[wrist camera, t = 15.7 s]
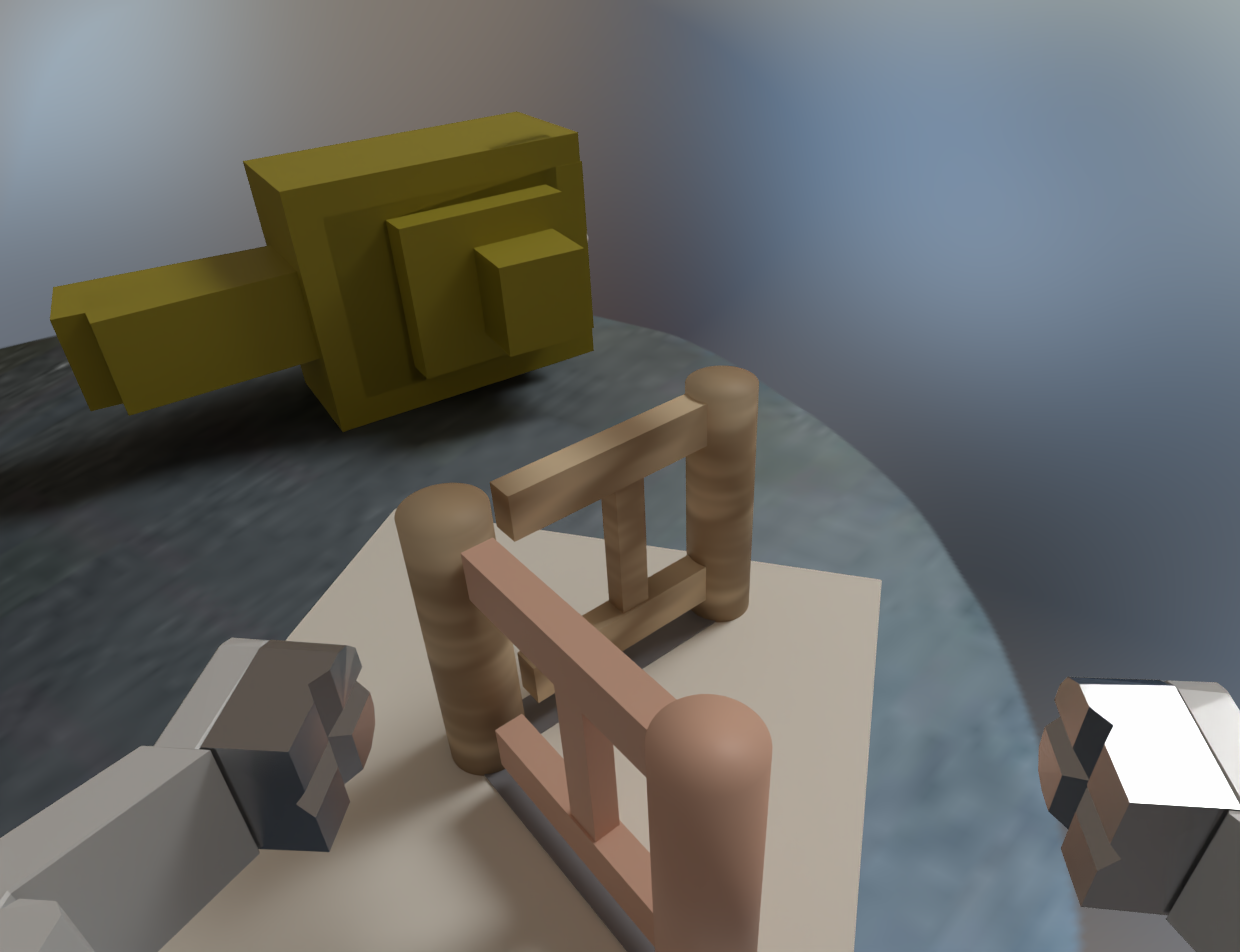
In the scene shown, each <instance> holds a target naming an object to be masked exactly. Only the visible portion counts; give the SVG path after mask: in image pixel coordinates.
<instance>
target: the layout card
mask: <svg viewBox="0 0 1240 952" xmlns="http://www.w3.org/2000/svg"><path fill="white" fill-rule="evenodd" d="M395 512H396V509H395V510H394V511H393V512H392V513H391V514H390V516H389V517H388V518H387V519H386V520H385V522H384V523H383V524H382V525H381V526H380V528H379V529H378V530H377V531H376V532H375V534H374V535H373V536H372V537H371V538H370V540H369V541H368V542H367V543H366V544H365V546H364V547H363V548H362V549H361V550H360V552H359V553H358V554H357V555H356V556H355V558H354V559H353V560H352V561H351V562H350V564H349V565H348V566H347V567H346V568H345V570H344V571H343V572H342V573H341V574H340V576H339V577H338V578H337V579H336V580H335V581H334V583H333V584H332V585H331V586H330V587H329V589H328V590H327V591H326V592H325V593H324V595H323V596H322V597H321V598H320V599H319V601H318V602H317V603H316V604H315V605H314V607H313V608H312V609H311V610H310V611H309V613H308V614H307V615H306V616H305V617H304V619H303V620H302V621H301V622H300V623H299V625H298V626H297V627H296V628H295V629H294V631H293V632H292V633H291V634H290V635H289V637H288V638H287V639H286V640H285V641H295V642H309V643H323V644H337V645H348V646H351V647H355V648H356V651H357V653H358V656H359V659H360V662H361V664H362V669H361V671H360V673H359V675H358V678H357V680H356V681H357V682H359V683H360V684H361V685H362V686H363V687H365V688H366V689H367V690H368V691H369V692H370V694H371V697H372V700H373V704H374V712H375V729H374V735H373V741H372V747H371V750H370V753H369V756H368V758H367V761H366V764H365V766H364V769H363V770H362V771H360V772H359V773H358V774H357V775H356V776H354V777H353V778H352V779H351V780H349V781H348V782H347V783H346V784H344V785H345V788H346V791H347V794H348V797H349V800H350V803H349V806H348V808H347V811H346V813H345V816H344V818H343V820H342V823H341V825H340V828H339V830H338V833H337V835H336V837H335V840H334V842H333V845H332V847H331V850H330V852H315V851H291V850H268V849H259V851H260V854H259V855H258V856H257V857H256V858H255V859H254V860H253V861H252V862H250V863H249V864H248V865H247V866H246V867H245V868H244V869H243V870H242V871H241V872H240V873H239V874H238V875H237V876H236V877H235V878H234V879H233V880H232V881H231V882H230V883H229V884H228V885H227V886H226V887H225V888H223V889H222V890H221V891H220V892H219V893H218V894H217V895H216V896H215V897H214V898H213V899H212V900H211V901H210V902H209V903H208V904H207V905H206V906H205V907H204V908H203V909H202V910H201V911H200V912H199V913H198V914H197V915H195V916H194V917H193V918H192V919H191V920H190V921H189V922H188V923H187V924H186V925H185V926H184V927H183V928H182V929H181V930H180V931H179V932H178V933H177V934H176V935H175V936H174V937H173V938H172V939H171V940H170V941H168V942H167V943H166V944H165V945H164V946H163V947H162V948H161V949H160V950H159V951H158V952H655V947H654V946H653V945H652V944H651V942H650V941H649V940H648V939H647V938H646V936H645V935H644V934H643V933H642V932H641V930H640V929H639V928H638V927H637V926H636V924H635V923H634V922H633V921H632V920H631V918H630V917H629V916H628V915H627V914H626V912H625V911H624V910H623V909H622V908H621V907H620V905H619V904H618V903H617V902H616V901H615V899H614V898H613V897H612V896H611V895H610V893H609V892H608V891H607V890H606V889H605V887H604V886H603V885H602V884H601V883H600V881H599V880H598V879H597V878H596V877H595V875H594V874H593V873H592V872H591V871H590V869H589V868H588V867H587V866H586V865H585V863H584V862H583V861H582V860H581V859H580V858H579V856H578V855H577V854H576V853H575V852H574V850H573V849H572V848H571V847H570V846H569V844H568V843H567V842H566V841H565V840H564V838H563V837H562V836H561V835H560V834H559V832H558V831H557V830H556V829H555V828H554V826H553V825H552V824H551V823H550V822H549V820H548V819H547V818H546V817H545V816H544V814H543V813H542V812H541V811H540V810H539V809H538V807H537V806H536V805H535V804H534V803H533V801H532V800H531V799H530V798H529V797H528V795H527V794H526V793H525V792H524V791H523V789H522V788H521V787H520V786H519V785H518V783H517V782H516V781H515V780H514V779H513V777H512V776H511V775H510V774H509V773H508V771H507V770H506V769H504V770H502V771H499V772H496V773H491V774H484V776H479V775H473V774H470V773H467V772H465V771H463V770H462V769H460V768H459V767H458V766H457V765H456V763H455V762H454V760H453V758H452V755H451V751H450V746H449V742H448V738H447V734H446V730H445V726H444V722H443V718H442V714H441V709H440V705H439V701H438V697H437V693H436V689H435V685H434V681H433V676H432V672H431V668H430V664H429V660H428V656H427V652H426V648H425V643H424V639H423V635H422V631H421V627H420V623H419V619H418V615H417V611H416V606H415V602H414V598H413V594H412V590H411V586H410V582H409V578H408V573H407V569H406V565H405V561H404V557H403V553H402V549H401V545H400V541H399V536H398V532H397V528H396V524H395V520H394V516H395ZM493 524H494V531H495V537H496V541H497V542H499V543H500V544H501V545H502V546H503V547H504V548H505V549H507V550H508V551H509V552H510V553H511V554H512V555H513V556H514V557H516V558H517V559H518V560H519V561H520V562H521V563H522V564H524V565H525V566H526V567H527V568H528V569H529V570H530V571H531V572H533V573H534V574H535V575H536V576H537V577H538V578H539V579H541V580H542V581H543V582H544V583H545V584H546V585H547V586H548V587H550V588H551V589H552V590H553V591H554V592H555V593H556V594H558V595H559V596H560V597H561V598H562V599H563V600H564V601H565V602H567V603H568V604H569V605H570V606H571V607H572V608H573V609H575V610H576V611H577V612H578V613H579V614H580V615H581V616H582V615H584V614H585V613H587V612H589V611H591V610H592V609H594V608H596V607H598V606H599V605H601V604H603V603H605V602H606V601H608V600H609V593H608V580H607V567H606V553H605V540H604V539H598V538H592V537H585V536H578V535H571V534H564V533H557V532H550V531H544V530H538V531H536V532H534V533H532V534H530V535H528V536H526V537H524V538H522V539H520V540H518V541H516V542H514V541H513V540H512V539H511V538H509V537H508V536H507V535H506V534H505V533H504V532H502V531H501V530H500V529H499V528H498V527H497V524H496V523H493ZM646 549H647V574H648V577H650V576H652V575H653V574H655V573H657V572H659V571H660V570H662V569H664V568H666V567H667V566H669V565H671V564H673V563H674V562H676V561H678V560H679V559H681V558H683V557H685V556H686V555H687V551H680V550H674V549H667V548H660V547H653V546H646ZM881 581H882V580H879V579H872V578H865V577H858V576H851V575H844V574H838V573H831V572H824V571H817V570H810V569H803V568H797V567H790V566H783V565H776V564H769V563H762V562H756V561H751V568H750V590H749V605H748V608H747V610H746V612H745V613H744V614H743V615H742V616H740V617H739V618H737V619H735V620H732V621H728V622H716V621H713V620H708V619H705V618H702V617H700V616H698V615H697V614H695V613H694V612H693V611H692V610H691V609H690V610H689V611H687V612H685V613H684V614H682V615H681V616H679V617H677V618H676V619H674V620H672V621H671V622H669V623H668V624H666V625H664V626H663V627H661V628H659V629H658V630H656V631H655V632H653V633H651V634H650V635H648V636H647V637H645V638H643V639H642V640H640V641H638V642H637V643H635V644H634V645H632V646H630V647H629V648H627V649H625V650H624V651H622V652H623V653H624V654H626V655H627V656H628V657H629V658H630V659H631V660H632V661H634V662H635V663H636V664H637V665H638V666H639V667H640V668H641V669H643V670H644V671H645V672H646V673H647V674H648V675H649V676H651V677H652V678H653V679H654V680H655V681H656V682H657V683H658V684H660V685H661V686H662V687H663V688H664V689H665V690H666V691H668V692H669V693H670V694H671V695H672V696H673V697H674V698H675V699H680V698H683V697H686V696H691V695H697V694H714V695H721V696H726V697H729V698H732V699H735V700H737V701H739V702H741V703H743V704H745V705H747V706H748V707H749V708H751V709H752V710H753V711H754V712H756V713H757V714H758V715H759V716H760V718H761V719H762V720H763V721H764V723H765V724H766V726H767V728H768V730H769V732H770V736H771V739H772V763H771V776H770V789H769V802H768V816H767V829H766V842H765V855H764V869H763V882H762V895H761V908H760V922H759V935H758V948H757V952H854V941H855V928H856V914H857V901H858V888H859V874H860V861H861V847H862V834H863V821H864V807H865V794H866V781H867V767H868V754H869V741H870V727H871V714H872V701H873V687H874V674H875V661H876V647H877V634H878V621H879V607H880V594H881ZM513 647H514V653H515V659H516V665H517V671H518V677H519V683H520V689H521V696H522V702H523V708H524V714H525V717H526V718H527V720H528V721H529V722H530V723H531V724H532V725H533V726H534V727H535V728H536V729H537V730H538V732H539V733H540V734H541V735H542V736H543V737H544V738H545V739H546V740H547V741H548V742H549V744H550V745H551V746H552V747H553V748H554V749H555V750H556V751H557V752H558V753H559V754H560V756H561V757H562V758H563V750H562V743H561V735H560V727H559V720H558V712H557V705H556V697H555V693H554V694H553V695H551V696H549V697H548V698H546V699H544V700H543V701H541V702H540V703H538V702H537V701H536V700H535V699H534V698H533V697H532V696H531V695H530V693H529V692H528V691H527V690H526V689H525V688H524V687H523V685H522V679H521V673H520V666H519V660H518V654H517V653H518V652H519V651H520V650H519V649H518V648H517V647H516V646H515V645H514V644H513ZM613 747H614V759H615V772H616V784H617V796H618V809H619V820H620V821H621V822H622V823H623V824H624V825H625V826H626V828H627V829H628V830H629V831H630V832H631V833H632V834H633V835H634V836H635V837H636V838H637V840H638V841H639V842H640V843H641V844H642V845H643V846H644V847H645V848H646V849H647V850H648V852H649V853H650V841H649V822H648V802H647V782H646V777H645V776H644V775H643V774H642V773H641V772H640V771H639V770H638V769H637V768H636V767H635V766H634V765H633V764H632V763H631V762H630V761H629V760H628V759H627V758H626V757H625V756H624V755H623V754H622V753H621V752H620V751H619V750H618V749H617V748H616V747H615V746H614V745H613ZM563 759H564V758H563Z"/></svg>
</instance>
